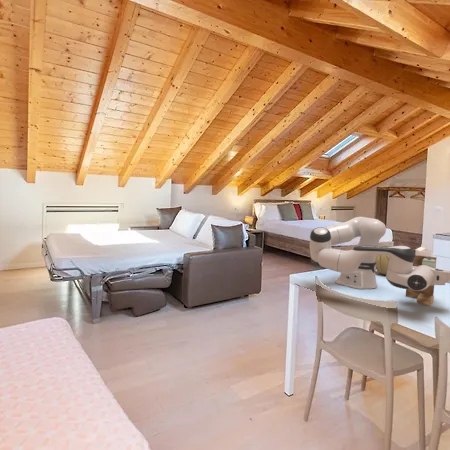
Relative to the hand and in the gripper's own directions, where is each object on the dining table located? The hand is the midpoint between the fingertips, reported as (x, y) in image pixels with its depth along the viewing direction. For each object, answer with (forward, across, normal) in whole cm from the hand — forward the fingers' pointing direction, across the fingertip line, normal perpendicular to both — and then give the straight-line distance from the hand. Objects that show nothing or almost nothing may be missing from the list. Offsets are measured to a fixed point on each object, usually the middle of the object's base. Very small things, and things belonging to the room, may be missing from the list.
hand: (428, 269), depth 168 cm
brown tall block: (+2, -3, -16) cm, 17 cm away
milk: (+38, -9, -16) cm, 42 cm away
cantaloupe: (+41, -29, -16) cm, 53 cm away
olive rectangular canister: (-1, 0, -7) cm, 7 cm away
